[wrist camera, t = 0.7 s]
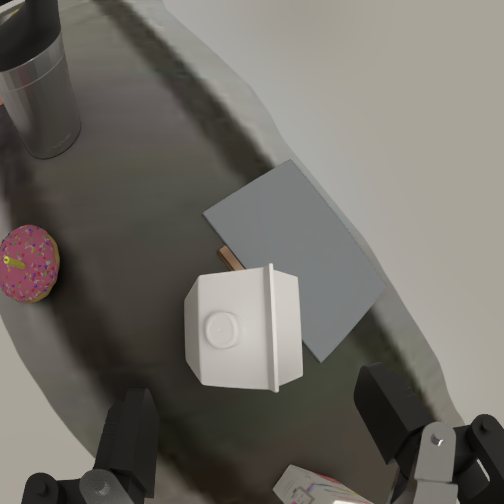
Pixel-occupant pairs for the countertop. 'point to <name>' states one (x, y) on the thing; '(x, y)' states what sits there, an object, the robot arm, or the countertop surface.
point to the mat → (301, 251)
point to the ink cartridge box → (313, 489)
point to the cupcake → (28, 264)
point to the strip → (229, 259)
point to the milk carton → (244, 329)
